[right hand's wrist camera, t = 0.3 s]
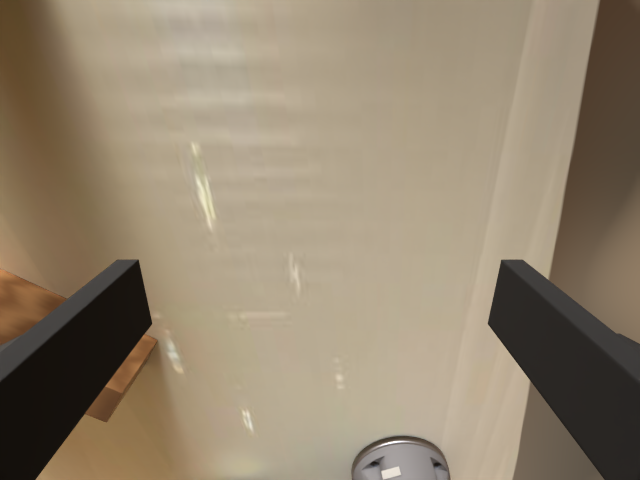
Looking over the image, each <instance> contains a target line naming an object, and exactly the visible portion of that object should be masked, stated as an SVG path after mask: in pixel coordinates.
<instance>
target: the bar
mask: <svg viewBox="0 0 640 480" xmlns="http://www.w3.org/2000/svg"><path fill="white" fill-rule="evenodd" d="M66 300H67V299H66V298H63V297H61V296H59V295H57V294H55V293H52V292H50V291H48V290H46V289H44V288H41V287H39V286H37V285H35V284H33V283H30V282H28V281H26V280H24V279H22V278H19V277H17V276H15V275H13V274H11V273H8V272H6V271H4V270H2V269H0V345H2V344H4V343H6V342H8V341H10V340H12V339H14V338H16V337H18V336H20V335H23V334H24V333H25V332H27V331H28V330H29V329H30V328H32V327H33V326H34V325H35V324H37V323H38V322H39V321H40V320H42V319H43V318H44V317H46V316H47V315H48V314H49V313H51V312H52V311H53V310H54V309H56V308H57V307H58V306H59V305H61V304H62V303H63V302H65V301H66ZM156 342H157V340H156V339H154V338H151V337H149V336H147V335H145V334H144V335H143V337H142V338H141V339H140V341H139V342H138V343H137V345H136V346H135V347H134V349H133V350H132V351H131V353H130V354H129V355H128V357H127V358H126V359H125V361H124V362H123V363H122V365H121V366H120V367H119V369H118V370H117V371H116V373H115V374H114V375H113V377H112V378H111V379H110V381H109V382H108V383H107V385H106V386H105V387H104V389H103V390H102V391H101V393H100V394H99V395H98V397H97V398H96V399H95V401H94V402H93V403H92V405H91V406H90V407H89V409H88V410H87V411H86V413H85V414H86V415H89V416H91V417H94V418H97V419H99V420H102V421H104V422H107V421H108V420H109V418H110V417H111V415H112V414H113V412H114V411H115V409H116V408H117V406H118V405H119V403H120V402H121V400H122V398H123V397H124V395H125V394H126V392H127V391H128V389H129V388H130V386H131V385H132V383H133V382H134V380H135V379H136V377H137V376H138V374H139V373H140V371H141V370H142V368H143V367H144V365H145V363H146V361H147V359H148V357H149V356H150V354H151V352H152V350H153V348H154V346H155V344H156Z"/></svg>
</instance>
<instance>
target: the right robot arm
mask: <svg viewBox="0 0 640 480" xmlns="http://www.w3.org/2000/svg"><path fill="white" fill-rule="evenodd" d="M151 325H152V321H151V316H150V311H149V306H148V302H147V297H146V292H145V288H144V283H143V278H142V274H141V269H140V264H139V260H116V261H115V262H114V263H113V264H111V265H110V266H109V267H108V268H106V269H105V270H104V271H103V272H101V273H100V274H99V275H97V276H96V277H95V278H94V279H92V280H91V281H90V282H89V283H87V284H86V285H85V286H84V287H82V288H81V289H80V290H78V291H77V292H76V293H75V294H73V295H72V296H71V297H70V298H68V299H67V300H66V301H65V302H63V303H62V304H61V305H59V306H58V307H57V308H56V309H54V310H53V311H52V312H51V313H49V314H48V315H47V316H46V317H44V318H43V319H42V320H40V321H39V322H38V323H37V324H35V325H34V326H33V327H32V328H30V329H29V330H28V331H27V332H25V333H24V334H23V335H20V336H18V337H16V338H14V339H12V340H10V341H8V342H6V343H4V344H2V345H0V480H35V479H36V478H37V477H38V475H39V474H40V473H41V471H42V470H43V469H44V467H45V466H46V465H47V463H48V462H49V461H50V459H51V458H52V457H53V455H54V454H55V453H56V451H57V450H58V449H59V447H60V446H61V445H62V443H63V442H64V441H65V439H66V438H67V437H68V435H69V434H70V433H71V431H72V430H73V429H74V427H75V426H76V425H77V423H78V422H79V421H80V419H81V418H82V417H83V415H84V414H85V413H86V411H87V410H88V409H89V407H90V406H91V405H92V403H93V402H94V401H95V399H96V398H97V397H98V395H99V394H100V393H101V391H102V390H103V389H104V387H105V386H106V385H107V383H108V382H109V381H110V379H111V378H112V377H113V375H114V374H115V373H116V371H117V370H118V369H119V367H120V366H121V365H122V363H123V362H124V361H125V359H126V358H127V357H128V355H129V354H130V353H131V351H132V350H133V349H134V347H135V346H136V345H137V343H138V342H139V341H140V339H141V338H142V337H143V335H144V334H145V333H146V331H147V330H148V329H149V327H150V326H151ZM488 325H489V326H490V327H491V329H492V330H493V331H494V333H495V334H496V335H497V337H498V338H499V339H500V341H501V342H502V343H503V345H504V346H505V347H506V349H507V350H508V351H509V353H510V354H511V355H512V357H513V358H514V359H515V361H516V362H517V363H518V365H519V366H520V367H521V369H522V370H523V371H524V373H525V374H526V375H527V377H528V378H529V379H530V381H531V382H532V383H533V385H534V386H535V387H536V389H537V390H538V391H539V393H540V394H541V395H542V397H543V398H544V399H545V401H546V402H547V403H548V405H549V406H550V407H551V409H552V410H553V411H554V413H555V414H556V415H557V417H558V418H559V419H560V421H561V422H562V423H563V425H564V426H565V427H566V429H567V430H568V431H569V433H570V434H571V435H572V437H573V438H574V439H575V441H576V442H577V443H578V445H579V446H580V447H581V449H582V450H583V451H584V453H585V454H586V455H587V457H588V458H589V459H590V461H591V462H592V463H593V465H594V466H595V467H596V469H597V470H598V471H599V473H600V474H601V475H602V477H603V478H604V479H605V480H640V344H639V343H637V342H635V341H633V340H631V339H629V338H627V337H625V336H623V335H621V334H616V333H615V332H613V331H612V330H611V329H610V328H608V327H607V326H606V325H605V324H603V323H602V322H601V321H599V320H598V319H597V318H596V317H594V316H593V315H592V314H591V313H589V312H588V311H587V310H586V309H584V308H583V307H582V306H581V305H579V304H578V303H577V302H575V301H574V300H573V299H572V298H570V297H569V296H568V295H567V294H565V293H564V292H563V291H562V290H560V289H559V288H558V287H556V286H555V285H554V284H553V283H551V282H550V281H549V280H548V279H546V278H545V277H544V276H543V275H541V274H540V273H539V272H537V271H536V270H535V269H534V268H532V267H531V266H530V265H529V264H527V263H526V262H525V261H524V260H501V264H500V269H499V274H498V278H497V283H496V288H495V292H494V297H493V302H492V306H491V311H490V316H489V321H488ZM352 480H450V473H449V468H448V465H447V462H446V459H445V457H444V455H443V453H442V452H441V451H440V449H439V448H438V447H436V446H435V445H434V444H432V443H430V442H428V441H426V440H423V439H420V438H416V437H409V436H397V437H390V438H385V439H382V440H379V441H377V442H374V443H372V444H371V445H369V446H367V447H366V448H364V449H363V450H362V451H361V452H360V453H359V454H358V456H357V457H356V458H355V460H354V462H353V465H352Z"/></svg>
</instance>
